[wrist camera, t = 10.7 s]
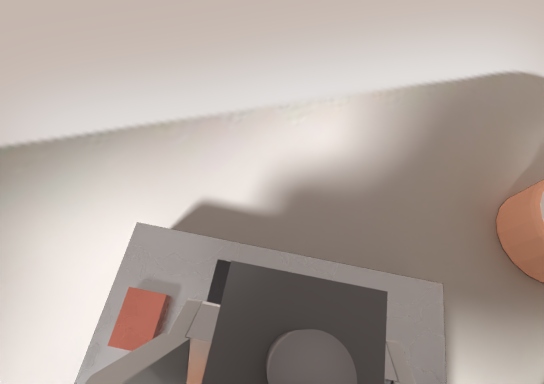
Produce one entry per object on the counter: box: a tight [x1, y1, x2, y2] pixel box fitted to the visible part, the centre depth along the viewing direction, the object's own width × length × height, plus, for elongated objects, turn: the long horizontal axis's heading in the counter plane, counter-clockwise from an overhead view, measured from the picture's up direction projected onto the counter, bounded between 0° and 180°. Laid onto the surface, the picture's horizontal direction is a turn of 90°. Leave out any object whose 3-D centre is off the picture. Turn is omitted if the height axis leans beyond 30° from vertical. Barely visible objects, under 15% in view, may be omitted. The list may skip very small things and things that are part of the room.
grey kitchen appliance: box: [74, 222, 446, 384], centre depth 18 cm, size 18×10×5 cm, turn 79°
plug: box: [201, 260, 388, 384], centre depth 10 cm, size 4×4×10 cm
